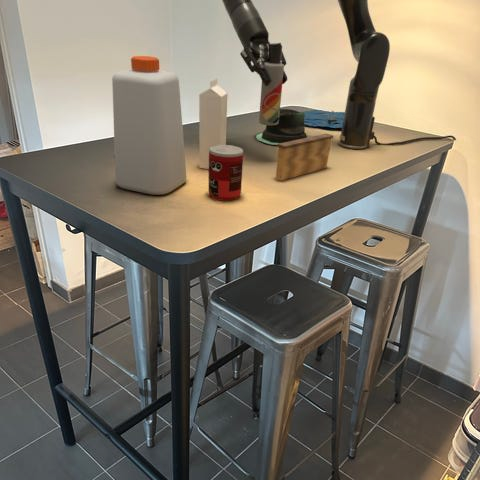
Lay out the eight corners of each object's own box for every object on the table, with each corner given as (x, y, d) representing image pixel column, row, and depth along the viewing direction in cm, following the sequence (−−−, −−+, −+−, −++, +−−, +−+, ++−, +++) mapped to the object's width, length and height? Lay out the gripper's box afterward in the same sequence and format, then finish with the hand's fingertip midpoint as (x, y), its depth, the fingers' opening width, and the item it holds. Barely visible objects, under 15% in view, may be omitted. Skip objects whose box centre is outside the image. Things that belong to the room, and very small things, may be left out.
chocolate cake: (279, 126, 170) (326, 138, 161) (250, 159, 165) (296, 174, 156) (272, 89, 158) (322, 100, 148) (240, 123, 152) (290, 137, 143)
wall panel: (321, 165, 136) (326, 133, 131) (328, 168, 135) (333, 135, 130) (273, 178, 125) (277, 143, 119) (280, 181, 123) (284, 146, 118)
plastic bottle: (109, 187, 112) (94, 57, 96) (141, 170, 124) (133, 51, 107) (164, 199, 108) (158, 64, 92) (192, 180, 120) (191, 58, 104)
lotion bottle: (277, 126, 129) (284, 44, 118) (257, 124, 130) (262, 42, 118) (279, 122, 134) (287, 42, 122) (260, 120, 135) (266, 40, 123)
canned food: (207, 189, 115) (208, 144, 109) (239, 190, 116) (242, 145, 110) (208, 200, 109) (209, 153, 103) (242, 201, 110) (244, 154, 103)
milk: (199, 168, 129) (198, 80, 116) (205, 162, 133) (205, 77, 120) (219, 170, 127) (221, 82, 115) (225, 164, 132) (228, 79, 119)
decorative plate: (311, 136, 169) (313, 121, 166) (277, 116, 192) (278, 102, 188) (378, 129, 178) (381, 115, 175) (338, 111, 200) (340, 98, 197)
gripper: (237, 16, 117) (266, 75, 118) (275, 16, 126) (302, 71, 126) (222, 38, 123) (250, 94, 124) (260, 37, 132) (286, 89, 132)
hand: (276, 82), depth 125 cm, fingers closed on lotion bottle, 5 cm apart
